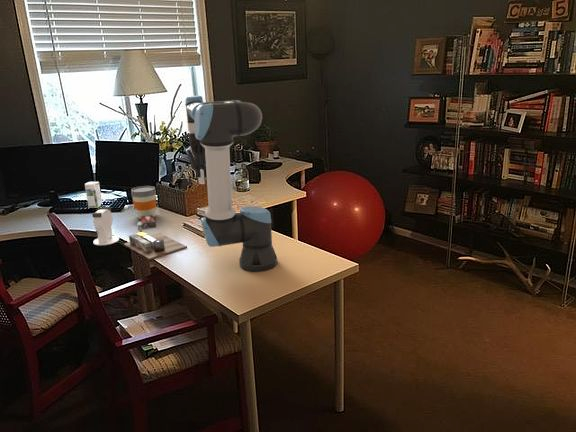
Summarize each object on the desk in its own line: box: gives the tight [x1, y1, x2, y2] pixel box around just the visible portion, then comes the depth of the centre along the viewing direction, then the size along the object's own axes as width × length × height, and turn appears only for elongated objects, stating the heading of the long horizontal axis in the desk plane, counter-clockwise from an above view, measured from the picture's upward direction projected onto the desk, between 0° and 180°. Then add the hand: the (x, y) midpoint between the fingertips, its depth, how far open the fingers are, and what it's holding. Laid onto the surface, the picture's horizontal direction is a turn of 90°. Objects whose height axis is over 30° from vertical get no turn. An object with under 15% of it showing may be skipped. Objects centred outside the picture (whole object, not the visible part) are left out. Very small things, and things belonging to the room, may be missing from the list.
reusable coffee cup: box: [130, 185, 157, 219], centre depth 255 cm, size 13×13×15 cm
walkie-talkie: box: [137, 215, 157, 233], centre depth 242 cm, size 9×4×20 cm
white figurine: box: [91, 206, 120, 246], centre depth 223 cm, size 12×11×15 cm
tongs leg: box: [135, 231, 165, 252], centre depth 215 cm, size 20×4×4 cm, turn 43°
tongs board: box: [123, 232, 188, 261], centre depth 215 cm, size 24×18×4 cm
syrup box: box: [84, 181, 103, 209], centre depth 274 cm, size 6×6×14 cm
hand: (201, 183), depth 222 cm, fingers closed
